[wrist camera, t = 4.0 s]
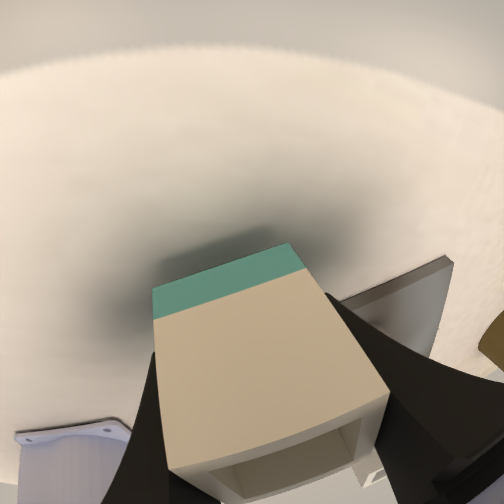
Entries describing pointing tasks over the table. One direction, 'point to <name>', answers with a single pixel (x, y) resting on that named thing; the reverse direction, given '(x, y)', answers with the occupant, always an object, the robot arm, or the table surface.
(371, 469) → the seated sleeve
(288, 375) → the sleeve
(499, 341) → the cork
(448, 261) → the pin board
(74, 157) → the table surface
